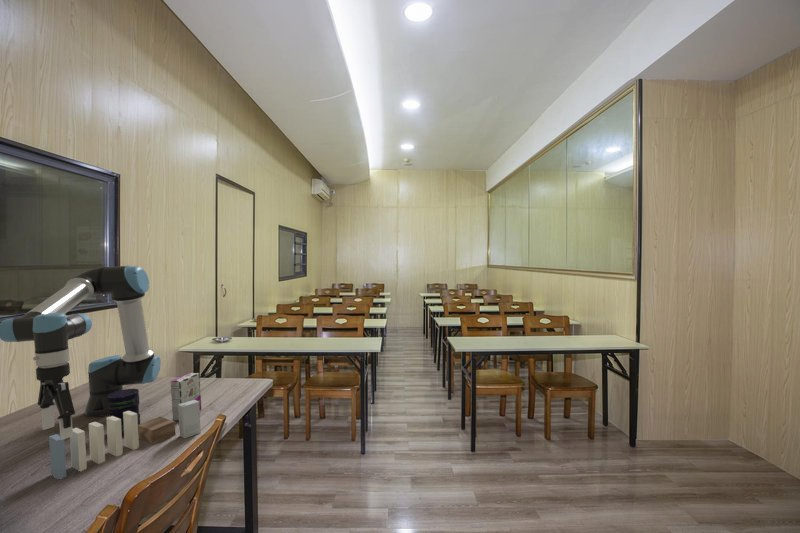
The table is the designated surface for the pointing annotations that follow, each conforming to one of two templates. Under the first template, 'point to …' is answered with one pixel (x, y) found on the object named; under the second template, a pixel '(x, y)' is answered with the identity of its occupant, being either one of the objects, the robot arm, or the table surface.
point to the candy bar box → (185, 392)
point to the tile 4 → (130, 430)
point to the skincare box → (189, 418)
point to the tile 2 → (96, 442)
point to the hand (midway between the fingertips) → (57, 432)
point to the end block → (156, 430)
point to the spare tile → (57, 456)
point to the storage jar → (123, 404)
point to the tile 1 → (78, 449)
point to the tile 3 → (114, 436)
